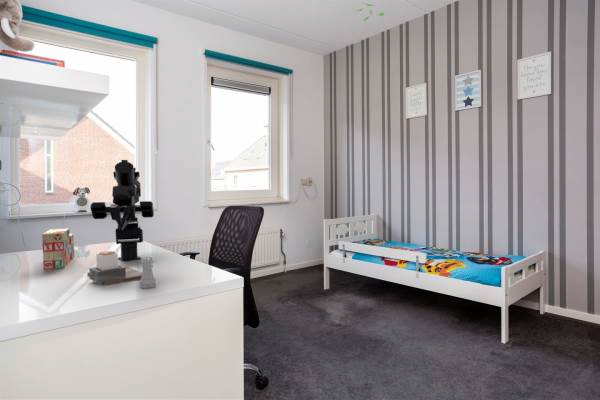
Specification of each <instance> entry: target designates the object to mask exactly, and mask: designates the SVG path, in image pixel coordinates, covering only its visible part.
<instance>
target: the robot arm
mask: <svg viewBox="0 0 600 400" xmlns="http://www.w3.org/2000/svg"><path fill="white" fill-rule="evenodd" d="M112 173H113V174H112V175H113V178H114V180H115V181H116V183H117V185H113V186H112V191H111V192H112V203H111V204H110V206H106V202H105V201H99V202H98V201H97V202H95V201H94V202H92V203H91V204H90V207H89V209H90V212H91V216H92V218H93V219H94V220H104V219H106V218H107V217H108V214H110V217H111V220H112V221H115V222H116V224H117V227H115V243H116V244H115V245H120V256H118V261H119V260H120V261H123V262H127V261H134V260H141V259H142V257H141V256H139V255H138V253H139V251H138V244H140V243H141V244H142V243H143V242H144V235H143V234H144V233H143V232H144V231H143V229H142V228H141V226H140V225H139V221H138V217H137V216H136V213H137V212H139V213H140V212H141V217H142V218H153V217H154V213H155V212H154V211H155V210H154V209H155V208H154V203H153V202H152V201H151V200H145V201H144V200H143V201H142V200H140V197H142V196H141V195H142V190H141V189H142V188H141V187H142V186H141V182H140V181H139V178H140V172H139V170H138V169H137V167H135V166H134V164H133V163H132V162H129V161H128V159H121V161H120V162H117V163H116V164H115V166H114V170H113V171H112ZM138 202H139V204H137V203H138Z"/></svg>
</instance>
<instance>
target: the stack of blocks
mask: <svg viewBox="0 0 600 400" xmlns="http://www.w3.org/2000/svg"><path fill="white" fill-rule="evenodd" d="M41 236H42V237H41V239H42V259H43V261H42V264H43V268H42V269H43V270H56V269H64V268H66V267H67V266H68V265H69V264H70V262H71V261H72V260H73V259H74V258H75V241H74V233H70V228H51V229H48V230H47V231H45V232H43V233H42V234H41Z"/></svg>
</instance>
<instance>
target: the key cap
mask: <svg viewBox="0 0 600 400" xmlns="http://www.w3.org/2000/svg"><path fill="white" fill-rule="evenodd" d="M95 257H96V262H95V263H96V267H97V269H100V270H109V269H115V268H118V265H119V259H118V257H119V255H118V253H117V252H115V251H113V250H112V251H111V250H109V251H101V252H98V253H96V256H95Z"/></svg>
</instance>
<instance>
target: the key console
mask: <svg viewBox="0 0 600 400" xmlns="http://www.w3.org/2000/svg"><path fill="white" fill-rule="evenodd" d="M86 273H87V277H89V279H90V280H92V281H94V282H95V283H97V284H101V283H102V285H103V286H106V287H107V286H110V285H116V284H122V283H126V282H133V281H137V280H141V278H142V273H143V271H140V270H137V269H134V268H133V267H130V266H122V265H120V264H118V268H115V269H109V270H100V269H97V266H95V267H89V272H86Z"/></svg>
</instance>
